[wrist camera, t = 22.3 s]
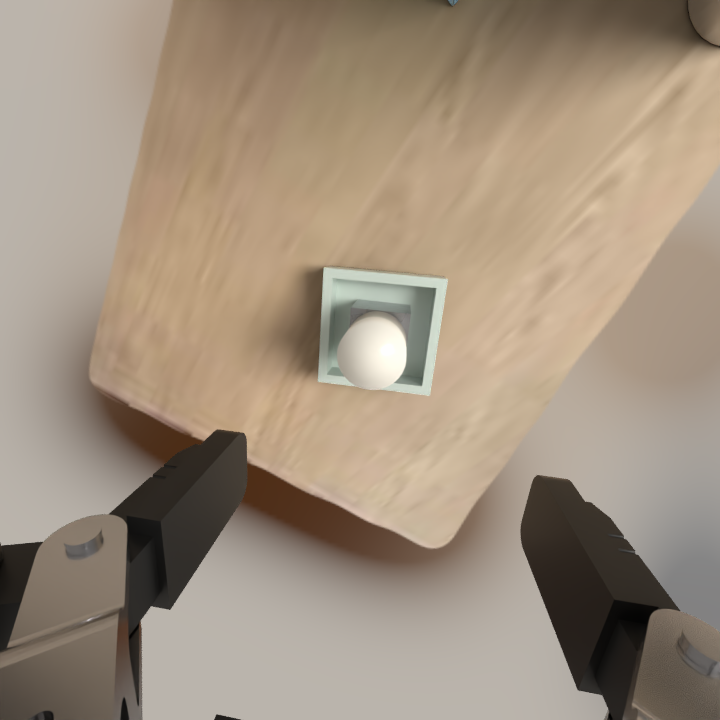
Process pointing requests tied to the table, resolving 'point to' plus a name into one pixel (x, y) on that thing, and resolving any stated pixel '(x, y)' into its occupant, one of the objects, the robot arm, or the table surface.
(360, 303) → the iron cube
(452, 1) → the gum box
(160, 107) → the table surface
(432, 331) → the tote
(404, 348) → the cream tapered egg shape
